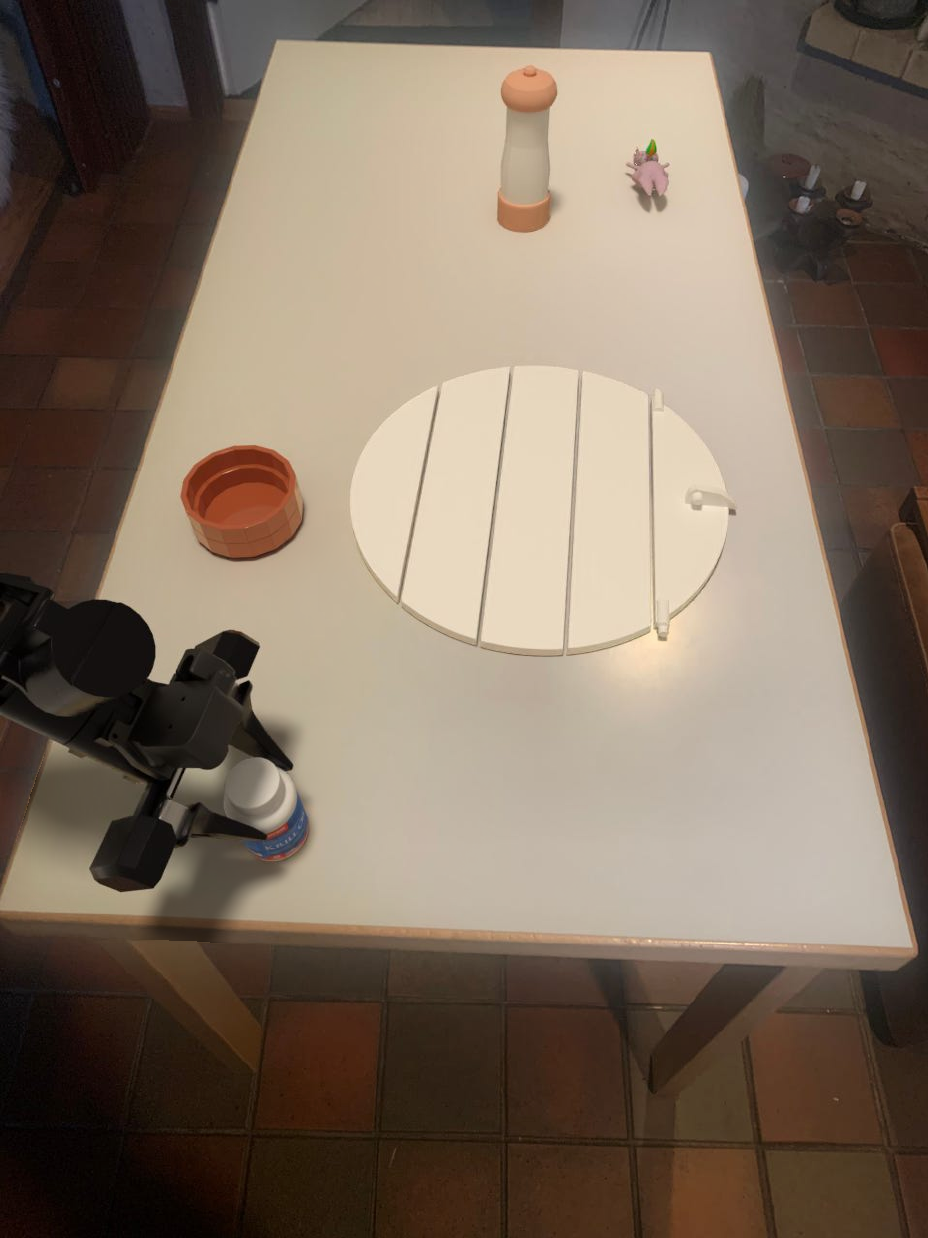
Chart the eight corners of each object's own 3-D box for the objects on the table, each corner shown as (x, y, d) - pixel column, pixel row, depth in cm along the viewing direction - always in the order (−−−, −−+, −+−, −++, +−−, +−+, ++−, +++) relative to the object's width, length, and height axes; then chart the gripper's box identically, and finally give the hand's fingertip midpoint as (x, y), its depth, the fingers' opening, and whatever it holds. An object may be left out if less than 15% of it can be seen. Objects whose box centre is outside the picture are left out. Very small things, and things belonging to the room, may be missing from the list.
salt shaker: (544, 201, 120) (554, 50, 104) (553, 230, 116) (565, 78, 100) (493, 205, 119) (496, 54, 103) (500, 234, 115) (504, 82, 99)
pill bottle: (277, 876, 66) (249, 834, 58) (229, 836, 68) (196, 790, 60) (324, 823, 69) (303, 775, 61) (277, 786, 71) (251, 735, 63)
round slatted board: (723, 385, 98) (730, 361, 95) (748, 675, 76) (758, 655, 73) (384, 363, 101) (381, 339, 98) (315, 636, 79) (309, 615, 76)
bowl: (174, 544, 85) (159, 511, 81) (228, 468, 91) (216, 434, 87) (273, 573, 83) (262, 541, 79) (321, 493, 89) (314, 460, 85)
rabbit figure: (621, 168, 127) (630, 208, 116) (626, 124, 122) (636, 161, 112) (662, 169, 127) (675, 208, 116) (669, 125, 122) (683, 161, 112)
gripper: (61, 827, 45) (294, 927, 52) (199, 557, 55) (377, 674, 63) (-2, 845, 52) (210, 929, 60) (129, 605, 62) (296, 703, 70)
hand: (277, 803), depth 63 cm, fingers closed on pill bottle, 5 cm apart
